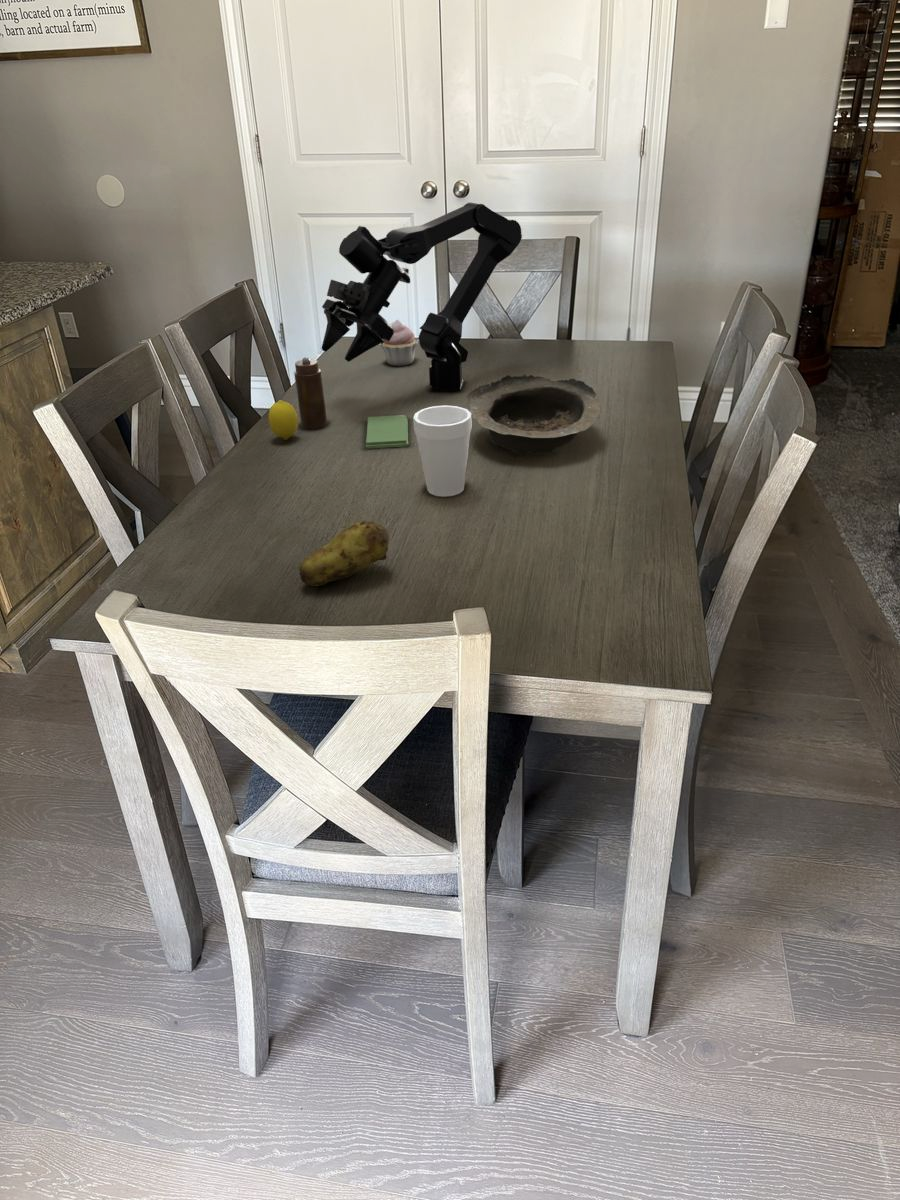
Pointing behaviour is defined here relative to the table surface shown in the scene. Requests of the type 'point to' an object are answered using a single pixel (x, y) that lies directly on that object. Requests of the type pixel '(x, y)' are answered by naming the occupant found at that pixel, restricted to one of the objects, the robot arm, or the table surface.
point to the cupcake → (400, 345)
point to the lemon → (283, 419)
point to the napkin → (387, 432)
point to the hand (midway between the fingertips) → (334, 355)
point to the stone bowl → (534, 412)
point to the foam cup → (443, 447)
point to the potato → (346, 553)
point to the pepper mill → (310, 394)
